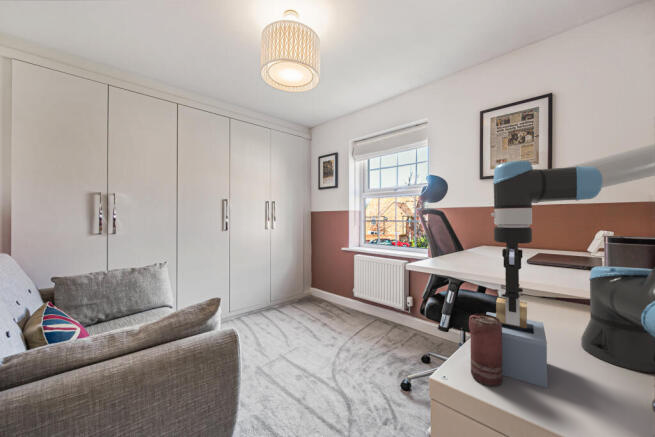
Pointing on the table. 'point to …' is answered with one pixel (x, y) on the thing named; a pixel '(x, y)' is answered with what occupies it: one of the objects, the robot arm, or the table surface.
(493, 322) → the can
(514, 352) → the coin box
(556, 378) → the table surface
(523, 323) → the wooden block
